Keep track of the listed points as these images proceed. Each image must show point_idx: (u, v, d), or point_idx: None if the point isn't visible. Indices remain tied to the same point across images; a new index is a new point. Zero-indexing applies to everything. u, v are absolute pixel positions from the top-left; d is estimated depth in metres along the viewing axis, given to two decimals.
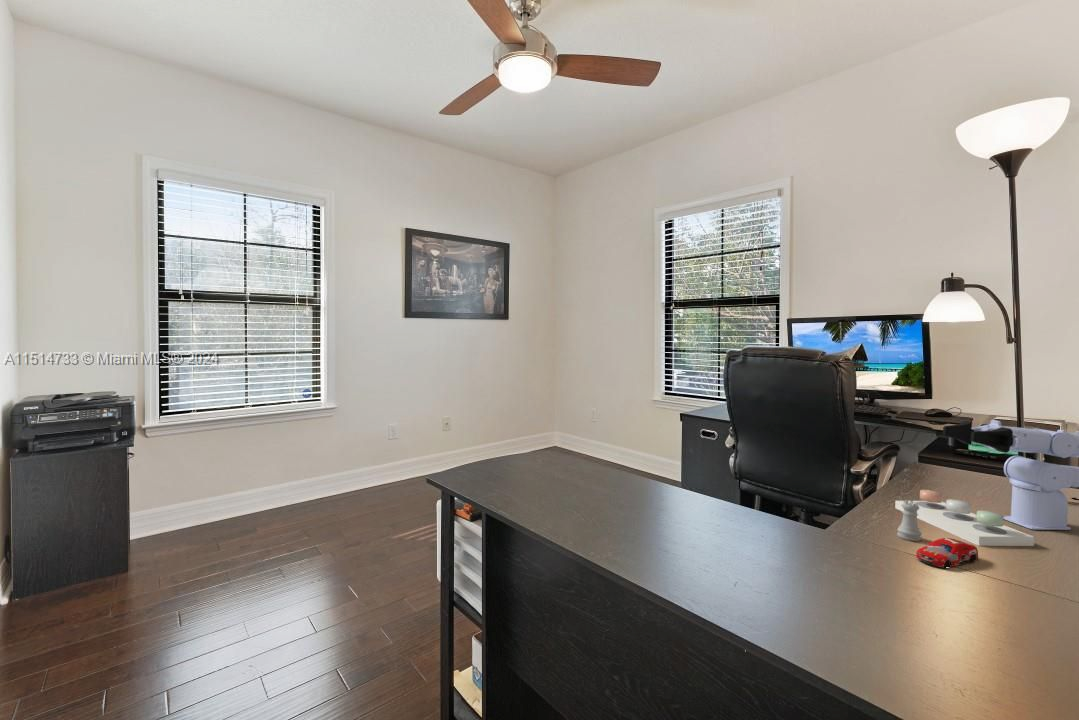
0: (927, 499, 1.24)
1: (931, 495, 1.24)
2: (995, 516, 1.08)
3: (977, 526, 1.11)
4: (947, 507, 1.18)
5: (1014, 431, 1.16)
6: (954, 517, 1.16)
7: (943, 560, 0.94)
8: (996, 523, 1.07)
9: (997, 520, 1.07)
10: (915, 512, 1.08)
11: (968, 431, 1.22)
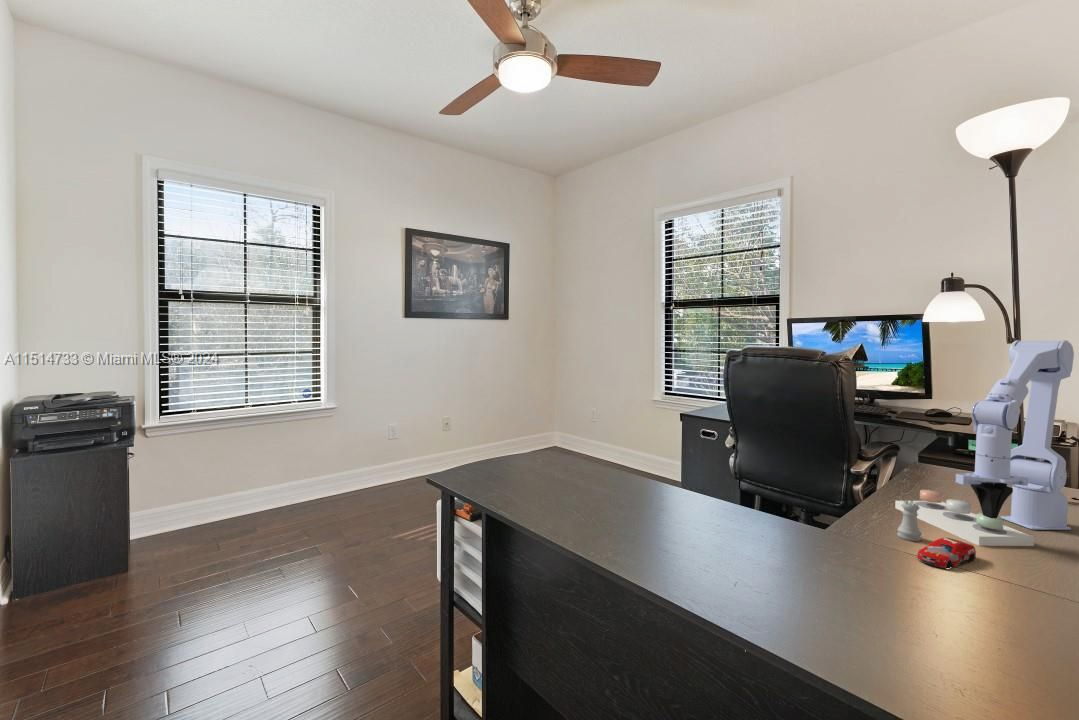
0: (927, 499, 1.24)
1: (931, 495, 1.24)
2: (995, 519, 1.08)
3: (977, 526, 1.11)
4: (947, 507, 1.18)
5: (1010, 466, 1.07)
6: (954, 517, 1.16)
7: (945, 561, 0.94)
8: (996, 526, 1.07)
9: (997, 523, 1.07)
10: (915, 512, 1.08)
11: None
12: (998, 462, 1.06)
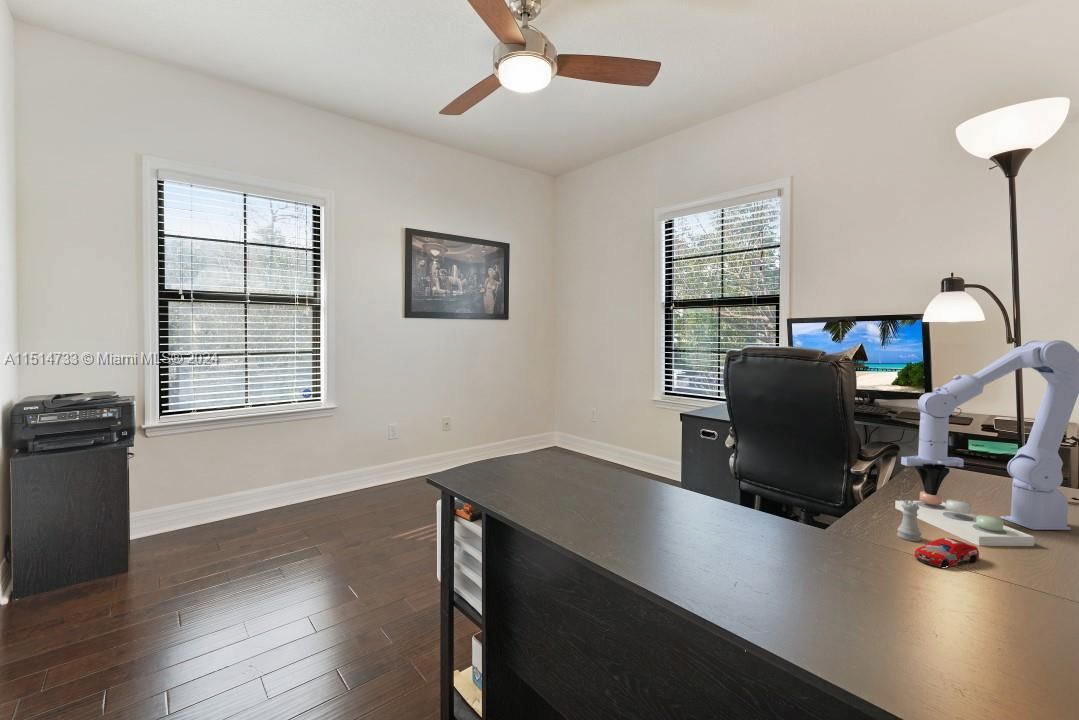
0: (927, 501, 1.24)
1: (931, 497, 1.24)
2: (995, 521, 1.08)
3: (977, 526, 1.11)
4: (947, 507, 1.18)
5: None
6: (954, 517, 1.16)
7: (940, 559, 0.94)
8: (996, 528, 1.07)
9: (997, 525, 1.07)
10: (915, 512, 1.08)
11: None
12: (936, 446, 1.22)
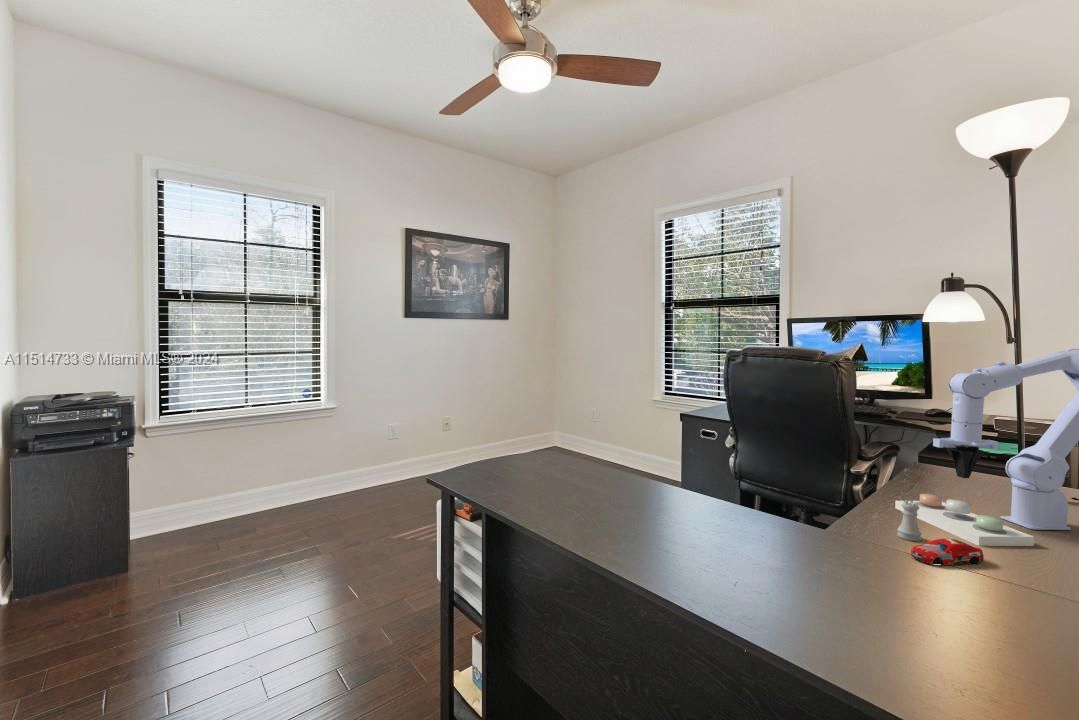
0: (927, 503, 1.24)
1: (931, 499, 1.24)
2: (995, 521, 1.08)
3: (977, 526, 1.11)
4: (947, 507, 1.18)
5: (981, 431, 1.19)
6: (954, 517, 1.16)
7: (932, 557, 0.95)
8: (996, 528, 1.07)
9: (997, 525, 1.07)
10: (915, 512, 1.08)
11: None
12: (971, 427, 1.18)
